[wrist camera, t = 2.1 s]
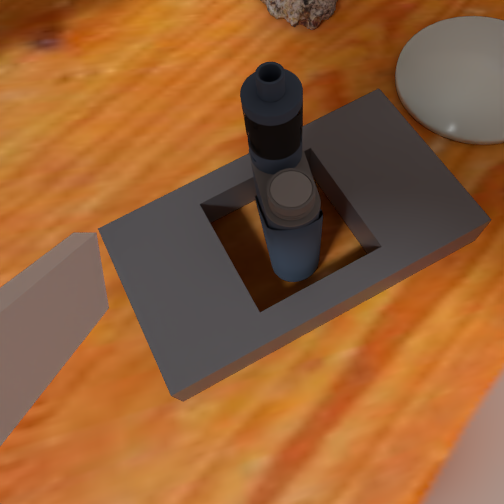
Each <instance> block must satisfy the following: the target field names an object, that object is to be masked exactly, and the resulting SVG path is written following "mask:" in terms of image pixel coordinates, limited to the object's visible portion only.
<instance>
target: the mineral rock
mask: <svg viewBox="0 0 504 504" xmlns="http://www.w3.org/2000/svg"><path fill="white" fill-rule="evenodd" d="M261 1H262V2H263V3H265V4H266V5H267V9H268V11H269V12H270V14H271V15H272V16H274V17H276V19H277V18H285V19H286V20H287V22H289V23H291V26H294V27H295V26H297V25H298V24H301V25H304V26H306V27H307V28H308V29H310V30H313V29H315V28H316V27H317V26H318V25H319V24H320V22H321V21H322V20H327V19H329V17H330V16H332V15H333V13H334V11H335V7H336V2H337V1H338V0H261Z"/></svg>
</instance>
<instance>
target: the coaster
mask: <svg viewBox="0 0 504 504" xmlns="http://www.w3.org/2000/svg"><path fill="white" fill-rule="evenodd" d="M395 85H396V90H397V93H398V96H399V99H400V100H401V102H402V104H403V106H404V107H405V109H406V110H407V111H408V112H409V114H410V115H411V116H412V117H413V118H414V119H415V120H416V121H418V122H419V123H420V124H421V125H423V126H424V127H426V128H427V129H429V130H430V131H432V132H434V133H436V134H438V135H440V136H443V137H445V138H448V139H451V140H454V141H459V142H463V143H469V144H482V145H489V144H500V143H504V21H503V20H500V19H495V18H490V17H481V16H464V17H455V18H450V19H446V20H442V21H439V22H436V23H434V24H432V25H429V26H428V27H426V28H424V29H422V30H421V31H419V32H418V33H417V34H415V35H414V36H413V37H412V38H411V39H410V40H409V41H408V42H407V44H406V45H405V46H404V48H403V50H402V52H401V53H400V56H399V59H398V62H397V66H396V72H395Z"/></svg>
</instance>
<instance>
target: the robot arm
mask: <svg viewBox="0 0 504 504" xmlns="http://www.w3.org/2000/svg"><path fill="white" fill-rule="evenodd" d="M108 308H109V306H108V300H107V294H106V288H105V282H104V276H103V270H102V264H101V258H100V252H99V246H98V240H97V234H96V233H73V234H71V235H70V236H69V237H67V238H66V239H65V240H63V241H62V242H61V243H59V244H58V245H57V246H55V247H54V248H53V249H51V250H50V251H49V252H47V253H46V254H45V255H43V256H42V257H41V258H39V259H38V260H37V261H35V262H34V263H33V264H31V265H30V266H29V267H27V268H26V269H25V270H23V271H22V272H21V273H19V274H18V275H17V276H15V277H14V278H13V279H11V280H10V281H9V282H7V283H6V284H5V285H3V286H2V287H1V288H0V446H1V445H2V443H3V442H4V441H5V440H6V438H7V437H8V436H9V435H10V433H11V432H12V431H13V429H14V428H15V427H16V426H17V424H18V423H19V422H20V421H21V419H22V418H23V417H24V415H25V414H26V413H27V412H28V410H29V409H30V408H31V407H32V405H33V404H34V403H35V401H36V400H37V399H38V398H39V396H40V395H41V394H42V392H43V391H44V390H45V389H46V387H47V386H48V385H49V384H50V382H51V381H52V380H53V378H54V377H55V376H56V375H57V373H58V372H59V371H60V370H61V368H62V367H63V366H64V364H65V363H66V362H67V361H68V359H69V358H70V357H71V356H72V354H73V353H74V352H75V350H76V349H77V348H78V347H79V345H80V344H81V343H82V342H83V340H84V339H85V338H86V336H87V335H88V334H89V333H90V331H91V330H92V329H93V328H94V326H95V325H96V324H97V322H98V321H99V320H100V319H101V317H102V316H103V315H104V314H105V312H106V311H107V310H108Z"/></svg>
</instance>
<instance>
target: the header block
mask: <svg viewBox="0 0 504 504" xmlns="http://www.w3.org/2000/svg"><path fill="white" fill-rule="evenodd" d="M302 147H303V150H304V153H305V156H306V159H307V161H308V164H309V167H310V170H311V173H312V176H313V177H314V178H315V180H316V181H317V183H318V184H319V186H320V187H321V189H322V190H323V191H324V193H325V194H326V196H327V197H328V199H329V200H330V201H331V203H332V204H333V206H334V207H335V209H336V210H337V211H338V213H339V214H340V216H341V217H342V219H343V220H344V221H345V223H346V224H347V226H348V227H349V229H350V230H351V231H352V233H353V234H354V236H355V237H356V239H357V240H358V241H359V243H360V244H361V246H362V247H363V249H364V250H365V251H366V253H367V255H365V256H363V257H361V258H360V259H358V260H356V261H354V262H352V263H350V264H348V265H347V266H345V267H343V268H341V269H339V270H337V271H336V272H334V273H332V274H330V275H328V276H326V277H324V278H323V279H321V280H319V281H317V282H315V283H313V284H312V285H310V286H308V287H306V288H304V289H302V290H300V291H299V292H297V293H295V294H293V295H291V296H289V297H288V298H286V299H284V300H282V301H280V302H278V303H276V304H275V305H273V306H271V307H269V308H267V309H265V310H264V311H262V312H259V310H258V308H257V306H256V305H255V303H254V301H253V299H252V297H251V296H250V294H249V292H248V290H247V288H246V287H245V285H244V283H243V281H242V279H241V278H240V276H239V274H238V272H237V270H236V269H235V267H234V265H233V263H232V262H231V260H230V258H229V256H228V254H227V253H226V251H225V249H224V247H223V245H222V244H221V242H220V240H219V238H218V236H217V235H216V233H215V231H214V229H213V227H212V226H211V224H210V223H211V222H213V221H215V220H217V219H219V218H221V217H223V216H225V215H227V214H229V213H231V212H233V211H235V210H237V209H239V208H241V207H243V206H244V205H246V204H248V203H250V202H252V201H254V200H256V199H255V196H257V194H256V188H255V182H254V176H253V170H252V164H251V160H250V156H249V154H247V155H245V156H243V157H241V158H239V159H237V160H235V161H233V162H231V163H229V164H227V165H225V166H223V167H221V168H219V169H217V170H215V171H213V172H211V173H209V174H207V175H205V176H203V177H201V178H199V179H197V180H195V181H193V182H191V183H189V184H187V185H185V186H183V187H181V188H179V189H177V190H175V191H173V192H171V193H169V194H167V195H165V196H163V197H161V198H159V199H157V200H155V201H153V202H151V203H149V204H147V205H145V206H143V207H141V208H139V209H137V210H135V211H133V212H131V213H129V214H127V215H125V216H123V217H121V218H119V219H117V220H115V221H113V222H111V223H109V224H107V225H105V226H103V227H100V228H98V230H99V232H100V234H101V237H102V239H103V241H104V243H105V246H106V248H107V250H108V253H109V255H110V257H111V259H112V262H113V264H114V266H115V269H116V271H117V273H118V276H119V278H120V280H121V282H122V285H123V287H124V289H125V292H126V294H127V296H128V298H129V301H130V303H131V305H132V308H133V310H134V312H135V314H136V317H137V319H138V321H139V324H140V326H141V328H142V330H143V333H144V335H145V337H146V340H147V342H148V344H149V346H150V349H151V351H152V353H153V356H154V358H155V360H156V362H157V365H158V367H159V369H160V372H161V374H162V376H163V379H164V381H165V383H166V385H167V388H168V390H169V392H170V395H171V396H172V397H174V398H177V399H179V400H181V401H185V400H187V399H189V398H191V397H192V396H194V395H196V394H198V393H200V392H201V391H203V390H205V389H207V388H209V387H210V386H212V385H214V384H216V383H218V382H219V381H221V380H223V379H225V378H227V377H229V376H230V375H232V374H234V373H236V372H238V371H239V370H241V369H243V368H245V367H247V366H248V365H250V364H252V363H254V362H256V361H257V360H259V359H261V358H263V357H265V356H266V355H268V354H270V353H272V352H274V351H276V350H277V349H279V348H281V347H283V346H285V345H286V344H288V343H290V342H292V341H294V340H295V339H297V338H299V337H301V336H303V335H304V334H306V333H308V332H310V331H312V330H313V329H315V328H317V327H319V326H321V325H323V324H324V323H326V322H328V321H330V320H332V319H333V318H335V317H337V316H339V315H341V314H342V313H344V312H346V311H348V310H350V309H351V308H353V307H355V306H357V305H359V304H360V303H362V302H364V301H366V300H368V299H370V298H371V297H373V296H375V295H377V294H379V293H380V292H382V291H384V290H386V289H388V288H389V287H391V286H393V285H395V284H397V283H398V282H400V281H402V280H404V279H406V278H408V277H409V276H411V275H413V274H415V273H417V272H418V271H420V270H422V269H424V268H426V267H427V266H429V265H431V264H433V263H435V262H436V261H438V260H440V259H442V258H444V257H445V256H447V255H449V254H451V253H453V252H455V251H456V250H458V249H460V248H462V247H464V246H465V245H467V244H469V243H471V242H473V241H474V240H475V239H476V238H477V237H478V236H479V235H480V233H481V232H482V231H483V230H484V228H485V227H486V226H487V225H488V223H489V222H490V221H491V219H490V218H489V216H488V215H487V214H486V213H485V212H484V211H483V209H482V208H481V207H480V206H479V205H478V204H477V202H476V201H475V200H474V199H473V198H472V197H471V195H470V194H469V193H468V192H467V191H466V190H465V188H464V187H463V186H462V185H461V184H460V183H459V181H458V180H457V179H456V178H455V177H454V175H453V174H452V173H451V172H450V171H449V170H448V168H447V167H446V166H445V165H444V164H443V163H442V161H441V160H440V159H439V158H438V157H437V156H436V154H435V153H434V152H433V151H432V150H431V149H430V147H429V146H428V145H427V144H426V143H425V142H424V140H423V139H422V138H421V137H420V136H419V135H418V133H417V132H416V131H415V130H414V129H413V128H412V126H411V125H410V124H409V123H408V122H407V121H406V119H405V118H404V117H403V116H402V115H401V114H400V112H399V111H398V110H397V109H396V108H395V106H394V105H393V104H392V103H391V102H390V101H389V99H388V98H387V97H386V96H385V95H384V94H383V92H382V91H381V90H380V89H377V90H375V91H373V92H371V93H369V94H367V95H365V96H363V97H361V98H359V99H357V100H355V101H353V102H351V103H349V104H347V105H345V106H343V107H341V108H339V109H337V110H335V111H333V112H331V113H329V114H327V115H325V116H323V117H321V118H319V119H317V120H315V121H313V122H311V123H309V124H307V125H305V126H303V131H302Z"/></svg>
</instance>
